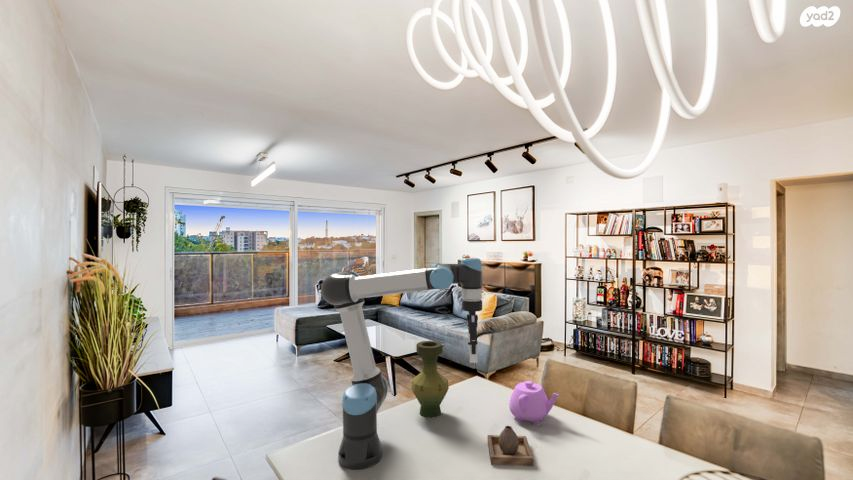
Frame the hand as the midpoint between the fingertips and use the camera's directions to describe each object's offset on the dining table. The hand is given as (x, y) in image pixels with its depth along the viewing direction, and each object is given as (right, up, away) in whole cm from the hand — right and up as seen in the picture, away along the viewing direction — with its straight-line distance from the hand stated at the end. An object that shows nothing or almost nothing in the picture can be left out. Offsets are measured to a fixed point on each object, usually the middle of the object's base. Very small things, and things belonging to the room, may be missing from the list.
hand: (472, 356), depth 140 cm
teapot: (+27, -32, +16) cm, 44 cm away
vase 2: (+12, -31, -8) cm, 34 cm away
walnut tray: (+12, -32, -8) cm, 35 cm away
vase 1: (-16, -32, +23) cm, 43 cm away
